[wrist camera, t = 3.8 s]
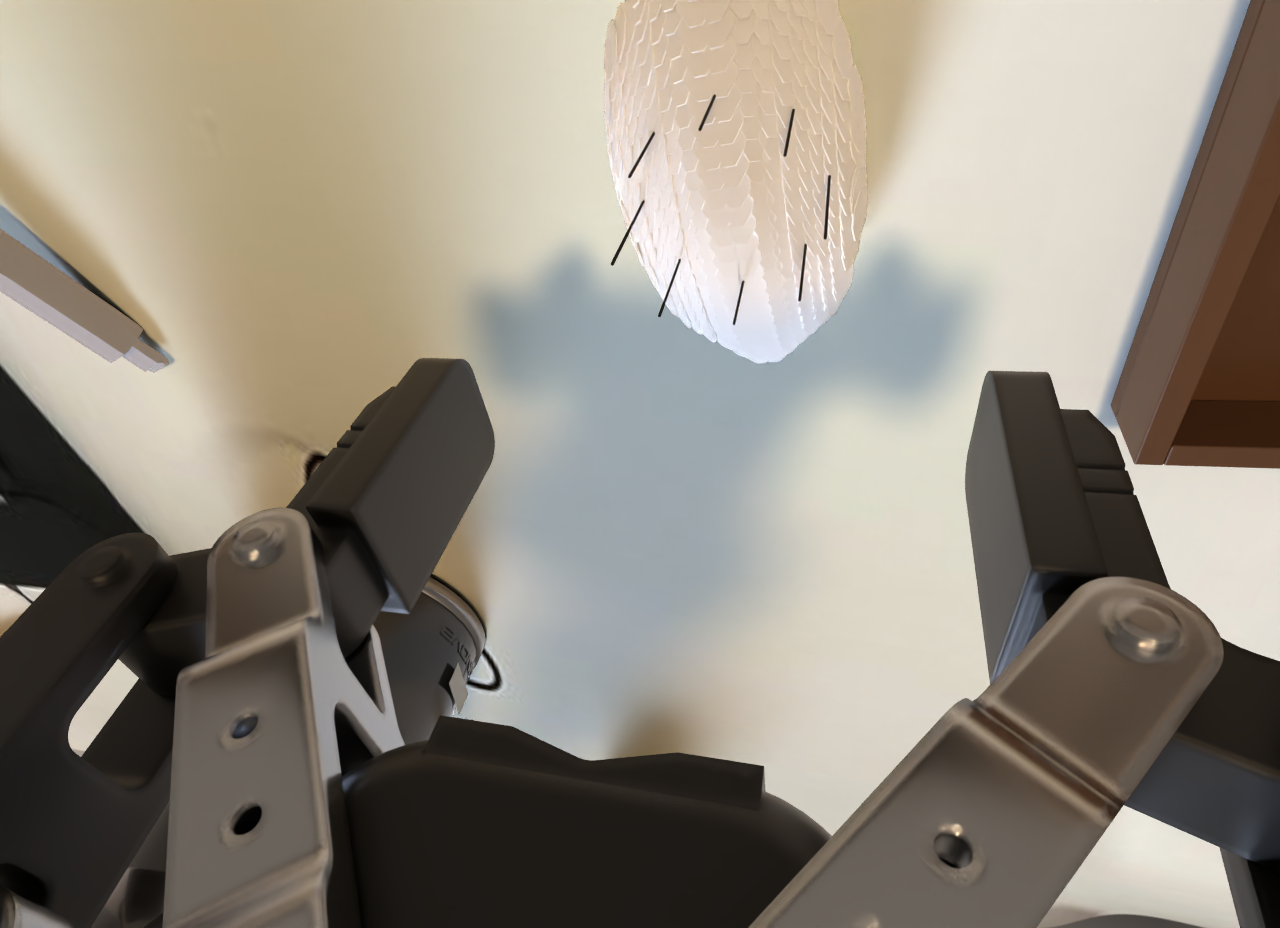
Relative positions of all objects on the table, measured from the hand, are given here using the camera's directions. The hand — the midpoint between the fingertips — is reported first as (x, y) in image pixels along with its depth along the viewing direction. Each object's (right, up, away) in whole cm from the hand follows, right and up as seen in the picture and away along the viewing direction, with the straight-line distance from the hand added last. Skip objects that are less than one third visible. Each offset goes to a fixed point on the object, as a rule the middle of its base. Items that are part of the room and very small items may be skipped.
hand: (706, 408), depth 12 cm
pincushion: (+2, +7, +7) cm, 10 cm away
